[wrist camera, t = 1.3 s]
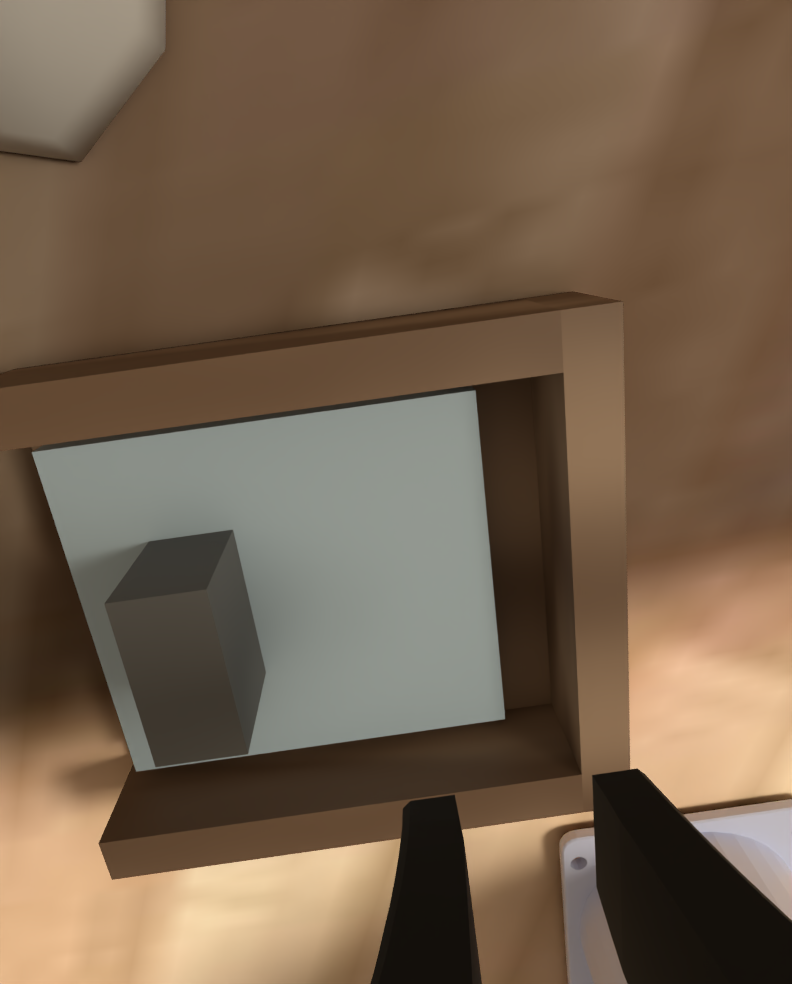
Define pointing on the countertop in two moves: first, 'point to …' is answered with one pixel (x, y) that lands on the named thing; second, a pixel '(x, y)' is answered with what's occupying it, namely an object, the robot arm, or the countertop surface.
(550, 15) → the countertop surface
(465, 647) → the cover plate
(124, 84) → the flask
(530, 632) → the box
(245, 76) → the countertop surface
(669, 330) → the countertop surface
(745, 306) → the countertop surface
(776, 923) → the robot arm
